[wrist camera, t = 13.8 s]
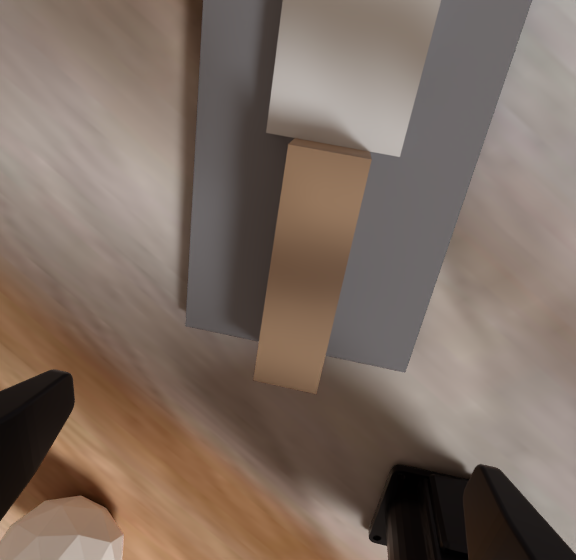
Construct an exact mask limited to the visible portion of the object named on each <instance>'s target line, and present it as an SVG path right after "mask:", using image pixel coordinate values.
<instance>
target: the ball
mask: <svg viewBox="0 0 576 560" xmlns="http://www.w3.org/2000/svg"><path fill="white" fill-rule="evenodd" d="M123 539H124V534H123V532H122V531H121V529H120V528H119V526H118V525H117V523H116V522H115V520H114V519H113V517H112V516H111V514H110V513H109V511H108V510H107V508H105V507H103V506H101V505H99V504H97V503H95V502H93V501H91V500H89V499H87V498H85V497H83V496H74V497H67V498H60V499H54V500H47V501H44V502H43V503H41V504H40V505H38V506H37V507H36V508H34V509H33V510H31V511H30V512H29V513H27V514H26V515H25V516H23V517H22V518H20V519H19V520H18V521H16V522H15V523H14V524H12V525H11V526H10V527H9V529H8V530H7V532H6V533H5V535H4V536H3V538H2V540H1V541H0V560H122V557H123Z"/></svg>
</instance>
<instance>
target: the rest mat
mask: <svg viewBox="0 0 576 560" xmlns="http://www.w3.org/2000/svg"><path fill="white" fill-rule="evenodd" d="M282 2H283V0H203V13H202V31H201V50H200V68H199V86H198V105H197V123H196V142H195V160H194V178H193V197H192V215H191V234H190V252H189V271H188V289H187V307H186V326H188V327H192V328H197V329H202V330H207V331H211V332H216V333H221V334H226V335H230V336H235V337H240V338H244V339H249V340H254V341H259V337H260V331H261V324H262V317H263V311H264V304H265V297H266V290H267V284H268V277H269V270H270V264H271V257H272V250H273V243H274V237H275V230H276V223H277V217H278V210H279V203H280V196H281V190H282V183H283V176H284V170H285V163H286V156H287V149H288V144H289V143H290V142H291V141H292V140H293V139H295V138H292V137H287V136H281V135H276V134H270V133H266V130H267V122H268V114H269V106H270V98H271V90H272V82H273V74H274V66H275V58H276V50H277V42H278V34H279V26H280V18H281V10H282ZM531 2H532V0H441V3H440V7H439V10H438V14H437V18H436V22H435V26H434V29H433V33H432V37H431V41H430V45H429V48H428V52H427V56H426V60H425V64H424V67H423V71H422V75H421V79H420V83H419V86H418V90H417V94H416V98H415V102H414V105H413V109H412V113H411V117H410V121H409V124H408V128H407V132H406V136H405V140H404V143H403V147H402V151H401V155H400V157H397V156H391V155H386V154H380V153H375V152H370V154H371V159H372V161H371V165H370V169H369V173H368V178H367V182H366V186H365V190H364V194H363V199H362V203H361V207H360V211H359V216H358V220H357V224H356V228H355V233H354V237H353V241H352V245H351V250H350V254H349V258H348V262H347V267H346V271H345V275H344V279H343V284H342V288H341V292H340V296H339V301H338V305H337V309H336V313H335V318H334V322H333V326H332V330H331V334H330V339H329V343H328V347H327V351H326V356H330V357H334V358H339V359H344V360H349V361H353V362H358V363H363V364H368V365H372V366H377V367H382V368H387V369H391V370H396V371H401V372H406V369H407V366H408V363H409V360H410V357H411V354H412V351H413V348H414V345H415V342H416V340H417V337H418V334H419V331H420V328H421V325H422V322H423V319H424V316H425V313H426V310H427V307H428V304H429V301H430V298H431V296H432V293H433V290H434V287H435V284H436V281H437V278H438V275H439V272H440V269H441V266H442V263H443V260H444V257H445V254H446V252H447V249H448V246H449V243H450V240H451V237H452V234H453V231H454V228H455V225H456V222H457V219H458V216H459V213H460V210H461V207H462V205H463V202H464V199H465V196H466V193H467V190H468V187H469V184H470V181H471V178H472V175H473V172H474V169H475V166H476V163H477V161H478V158H479V155H480V152H481V149H482V146H483V143H484V140H485V137H486V134H487V131H488V128H489V125H490V122H491V119H492V117H493V114H494V111H495V108H496V105H497V102H498V99H499V96H500V93H501V90H502V87H503V84H504V81H505V78H506V75H507V72H508V70H509V67H510V64H511V61H512V58H513V55H514V52H515V49H516V46H517V43H518V40H519V37H520V34H521V31H522V28H523V26H524V23H525V20H526V17H527V14H528V11H529V8H530V5H531Z"/></svg>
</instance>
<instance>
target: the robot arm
mask: <svg viewBox="0 0 576 560" xmlns="http://www.w3.org/2000/svg"><path fill="white" fill-rule="evenodd" d="M74 402H75V398H74V387H73V378H72V375H71V374H70V373H68V372H64V371H60V370H49V371H47V372H44V373H42V374H40V375H37V376H35V377H33V378H30V379H28V380H26V381H23V382H21V383H19V384H16V385H14V386H11V387H9V388H7V389H4V390H2V391H0V521H1V520H2V518H3V517H4V515H5V514H6V513H7V511H8V510H9V509H10V507H11V506H12V505H13V503H14V502H15V500H16V499H17V498H18V496H19V495H20V494H21V492H22V491H23V489H24V488H25V487H26V485H27V484H28V483H29V481H30V480H31V478H32V477H33V475H34V474H35V472H36V471H37V469H38V468H39V466H40V464H41V463H42V461H43V459H44V458H45V456H46V454H47V453H48V451H49V449H50V448H51V446H52V444H53V442H54V441H55V439H56V437H57V436H58V434H59V432H60V431H61V429H62V427H63V425H64V424H65V422H66V420H67V419H68V417H69V415H70V414H71V412H72V410H73V407H74ZM369 539H370V541H372V542H374V543H377V544H381V545H386V546H387V550H388V560H576V554H575V553H574V552H573V551H572V550H571V549H570V547H569V546H568V545H567V544H566V543H565V542H564V541H563V540H562V538H561V537H560V536H559V535H558V534H557V533H556V532H555V531H554V529H553V528H552V527H551V526H550V525H549V524H548V523H547V522H546V520H545V519H544V518H543V517H542V516H541V515H540V514H539V513H538V512H537V510H536V509H535V508H534V507H533V506H532V505H531V504H530V503H529V501H528V500H527V499H526V498H525V497H524V496H523V495H522V494H521V492H520V491H519V490H518V489H517V488H516V487H515V486H514V485H513V483H512V482H511V481H510V480H509V479H508V478H507V477H506V476H505V474H504V473H503V472H502V471H501V470H500V469H498V468H496V467H491V466H487V465H482V464H479V465H477V466H476V467H475V469H474V471H473V473H472V475H471V477H470V479H469V480H467V479H462V478H458V477H453V476H449V475H445V474H440V473H436V472H431V471H427V470H422V469H418V468H413V467H409V466H405V465H395V466H394V467H392V469H391V471H390V474H389V477H388V479H387V482H386V485H385V488H384V490H383V493H382V496H381V498H380V501H379V504H378V507H377V509H376V512H375V515H374V517H373V520H372V523H371V526H370V528H369Z"/></svg>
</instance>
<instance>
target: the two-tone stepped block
mask: <svg viewBox="0 0 576 560" xmlns="http://www.w3.org/2000/svg"><path fill="white" fill-rule="evenodd" d="M440 3H441V0H283V2H282V10H281V18H280V26H279V34H278V42H277V50H276V58H275V66H274V74H273V82H272V90H271V98H270V106H269V114H268V122H267V130H266V133H270V134H276V135H281V136H287V137H292V138H295V139H293V140H292V141H291V142H290V143H289V144H288V149H287V156H286V163H285V170H284V176H283V183H282V190H281V196H280V203H279V210H278V217H277V223H276V230H275V237H274V243H273V250H272V257H271V264H270V270H269V277H268V284H267V290H266V297H265V304H264V311H263V317H262V324H261V331H260V337H259V344H258V351H257V358H256V364H255V371H254V378H253V381H258V382H262V383H267V384H272V385H276V386H281V387H285V388H290V389H294V390H299V391H304V392H308V393H313V394H317V390H318V385H319V381H320V377H321V373H322V368H323V364H324V360H325V356H326V351H327V347H328V343H329V339H330V334H331V330H332V326H333V322H334V318H335V313H336V309H337V305H338V301H339V296H340V292H341V288H342V284H343V279H344V275H345V271H346V267H347V262H348V258H349V254H350V250H351V245H352V241H353V237H354V233H355V228H356V224H357V220H358V216H359V211H360V207H361V203H362V199H363V194H364V190H365V186H366V182H367V178H368V173H369V169H370V165H371V161H372V159H371V154H370V152H375V153H380V154H386V155H391V156H397V157H400V155H401V151H402V147H403V143H404V140H405V136H406V132H407V128H408V124H409V121H410V117H411V113H412V109H413V105H414V102H415V98H416V94H417V90H418V86H419V83H420V79H421V75H422V71H423V67H424V64H425V60H426V56H427V52H428V48H429V45H430V41H431V37H432V33H433V29H434V26H435V22H436V18H437V14H438V10H439V7H440Z"/></svg>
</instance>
